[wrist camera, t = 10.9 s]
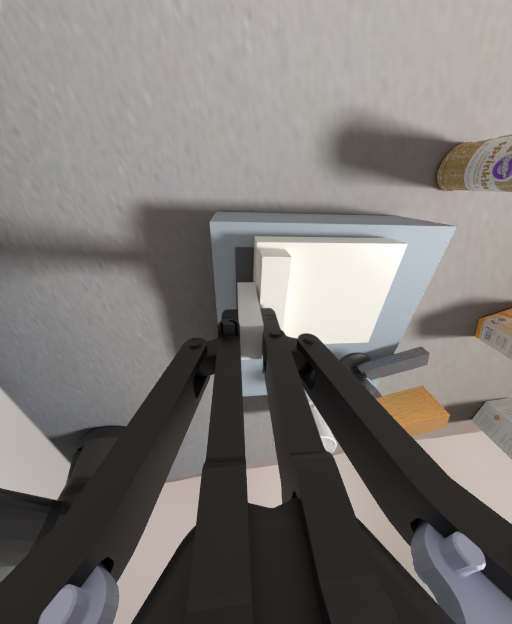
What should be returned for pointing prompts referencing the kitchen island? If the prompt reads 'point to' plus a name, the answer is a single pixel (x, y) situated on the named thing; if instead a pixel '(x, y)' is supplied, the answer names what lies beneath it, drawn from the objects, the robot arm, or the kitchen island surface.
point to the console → (245, 225)
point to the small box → (497, 422)
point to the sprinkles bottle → (478, 166)
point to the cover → (325, 283)
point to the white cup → (323, 428)
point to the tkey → (404, 392)
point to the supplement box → (497, 331)
